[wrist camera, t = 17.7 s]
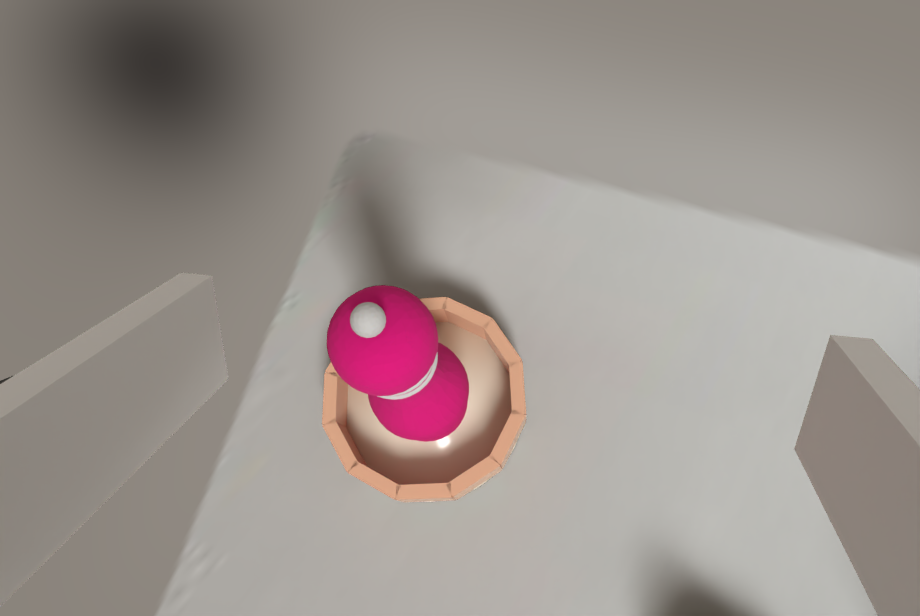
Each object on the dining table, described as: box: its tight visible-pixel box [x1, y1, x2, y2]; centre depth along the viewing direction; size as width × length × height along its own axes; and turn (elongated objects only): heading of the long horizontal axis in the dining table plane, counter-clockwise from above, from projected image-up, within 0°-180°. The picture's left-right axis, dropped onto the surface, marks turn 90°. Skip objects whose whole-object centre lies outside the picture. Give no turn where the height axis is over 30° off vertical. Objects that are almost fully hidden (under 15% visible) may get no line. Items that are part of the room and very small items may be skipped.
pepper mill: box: [327, 285, 469, 442], centre depth 39 cm, size 7×7×20 cm
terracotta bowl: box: [322, 297, 526, 502], centre depth 47 cm, size 15×15×4 cm
